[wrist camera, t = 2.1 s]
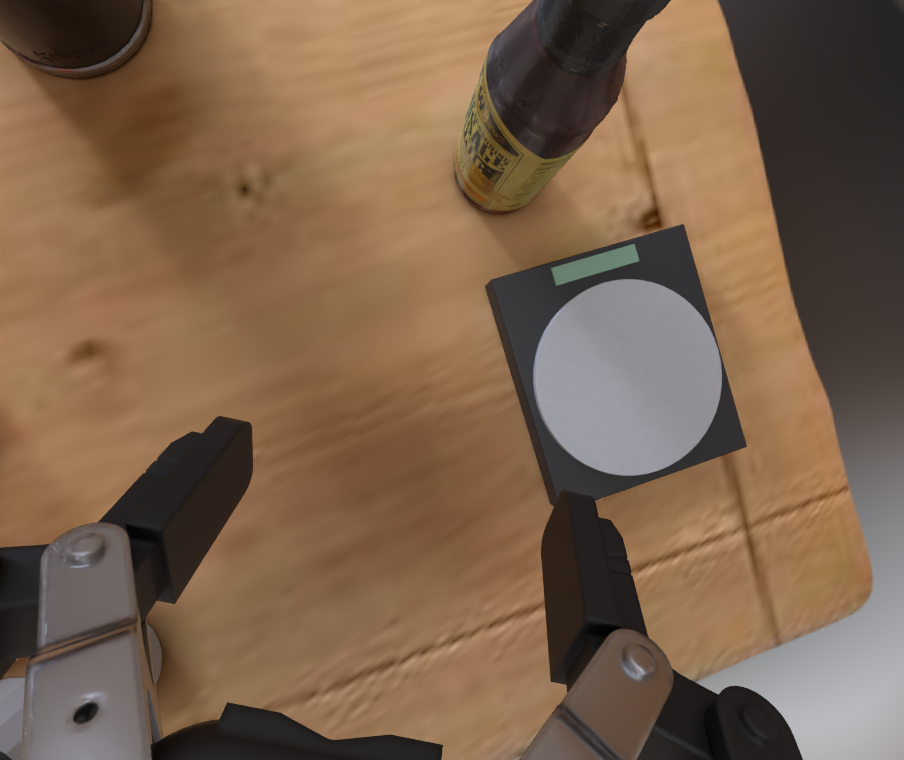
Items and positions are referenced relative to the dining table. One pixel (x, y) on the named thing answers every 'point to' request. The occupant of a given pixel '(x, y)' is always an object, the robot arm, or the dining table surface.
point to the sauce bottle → (543, 95)
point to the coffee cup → (6, 700)
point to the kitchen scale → (616, 365)
